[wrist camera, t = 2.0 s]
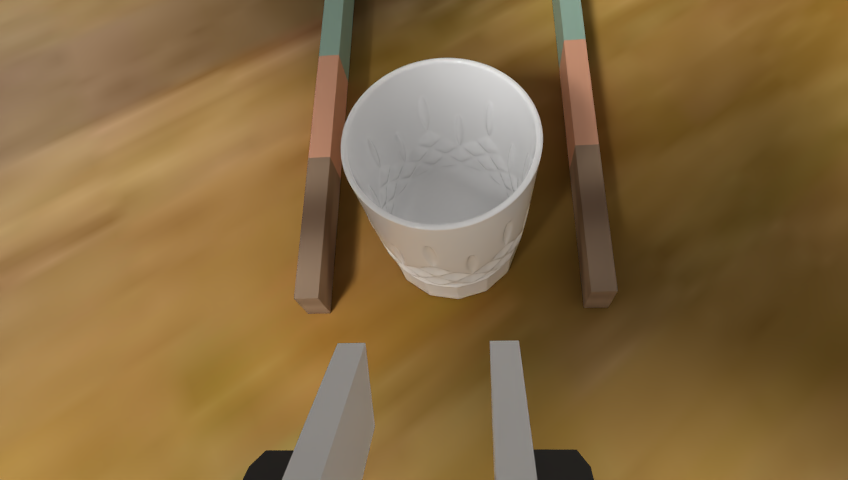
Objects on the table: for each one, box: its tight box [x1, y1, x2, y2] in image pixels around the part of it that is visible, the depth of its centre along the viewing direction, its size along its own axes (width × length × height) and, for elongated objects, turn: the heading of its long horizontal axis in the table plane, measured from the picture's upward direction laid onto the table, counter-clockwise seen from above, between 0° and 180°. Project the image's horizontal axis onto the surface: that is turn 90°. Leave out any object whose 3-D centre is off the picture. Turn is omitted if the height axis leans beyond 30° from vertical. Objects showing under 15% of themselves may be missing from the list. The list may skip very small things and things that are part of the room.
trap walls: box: [308, 39, 599, 179], centre depth 34 cm, size 7×15×2 cm, turn 90°
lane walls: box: [294, 144, 618, 314], centre depth 31 cm, size 8×15×2 cm, turn 89°
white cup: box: [341, 58, 543, 299], centre depth 28 cm, size 8×8×10 cm
